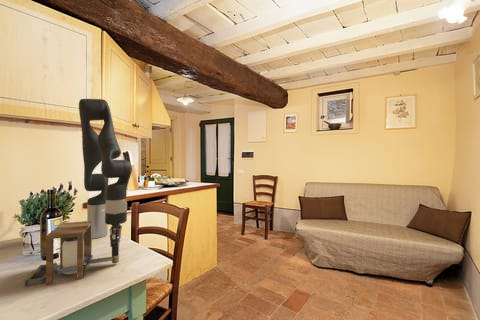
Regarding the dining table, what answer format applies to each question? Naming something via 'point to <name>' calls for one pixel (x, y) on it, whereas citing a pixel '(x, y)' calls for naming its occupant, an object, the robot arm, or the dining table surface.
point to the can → (70, 254)
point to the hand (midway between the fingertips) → (115, 254)
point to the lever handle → (88, 263)
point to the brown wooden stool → (63, 231)
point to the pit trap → (38, 275)
